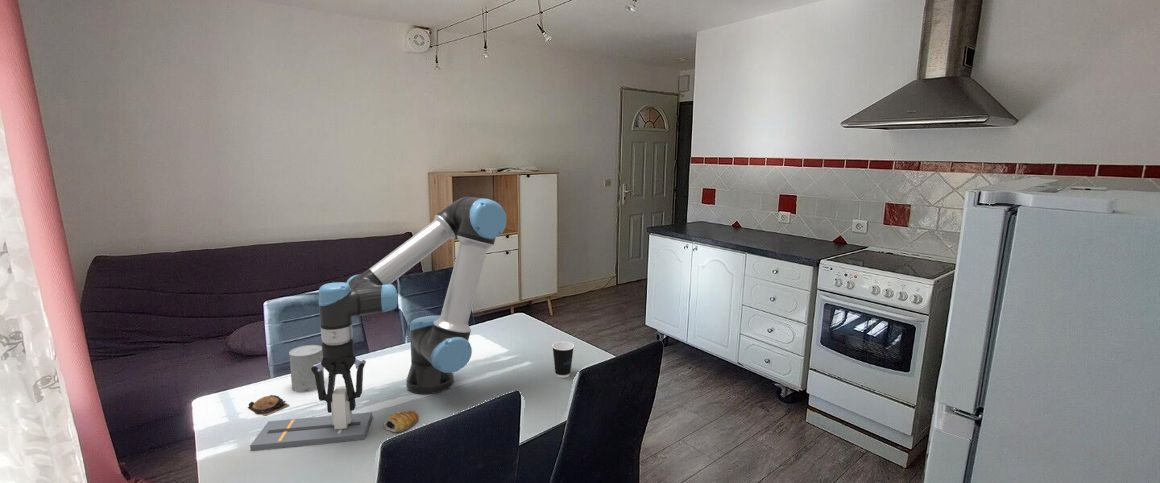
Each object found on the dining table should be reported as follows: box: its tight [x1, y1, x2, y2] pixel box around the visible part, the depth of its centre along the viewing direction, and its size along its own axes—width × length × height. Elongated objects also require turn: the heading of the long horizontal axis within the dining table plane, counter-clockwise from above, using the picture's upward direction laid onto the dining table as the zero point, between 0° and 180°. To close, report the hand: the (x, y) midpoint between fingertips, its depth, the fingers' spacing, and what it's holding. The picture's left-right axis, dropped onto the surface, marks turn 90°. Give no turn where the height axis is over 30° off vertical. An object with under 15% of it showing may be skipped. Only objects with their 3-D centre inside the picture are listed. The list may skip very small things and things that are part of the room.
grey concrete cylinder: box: [288, 344, 326, 393], centre depth 160 cm, size 10×10×12 cm
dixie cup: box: [551, 340, 575, 379], centre depth 173 cm, size 8×8×11 cm
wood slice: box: [247, 394, 290, 417], centre depth 147 cm, size 11×8×4 cm
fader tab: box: [332, 385, 348, 429], centre depth 134 cm, size 3×5×10 cm, turn 13°
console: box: [249, 411, 373, 452], centre depth 134 cm, size 27×12×2 cm, turn 103°
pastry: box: [383, 410, 420, 433], centre depth 139 cm, size 9×7×4 cm
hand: (342, 421), depth 135 cm, fingers closed on fader tab, 3 cm apart
